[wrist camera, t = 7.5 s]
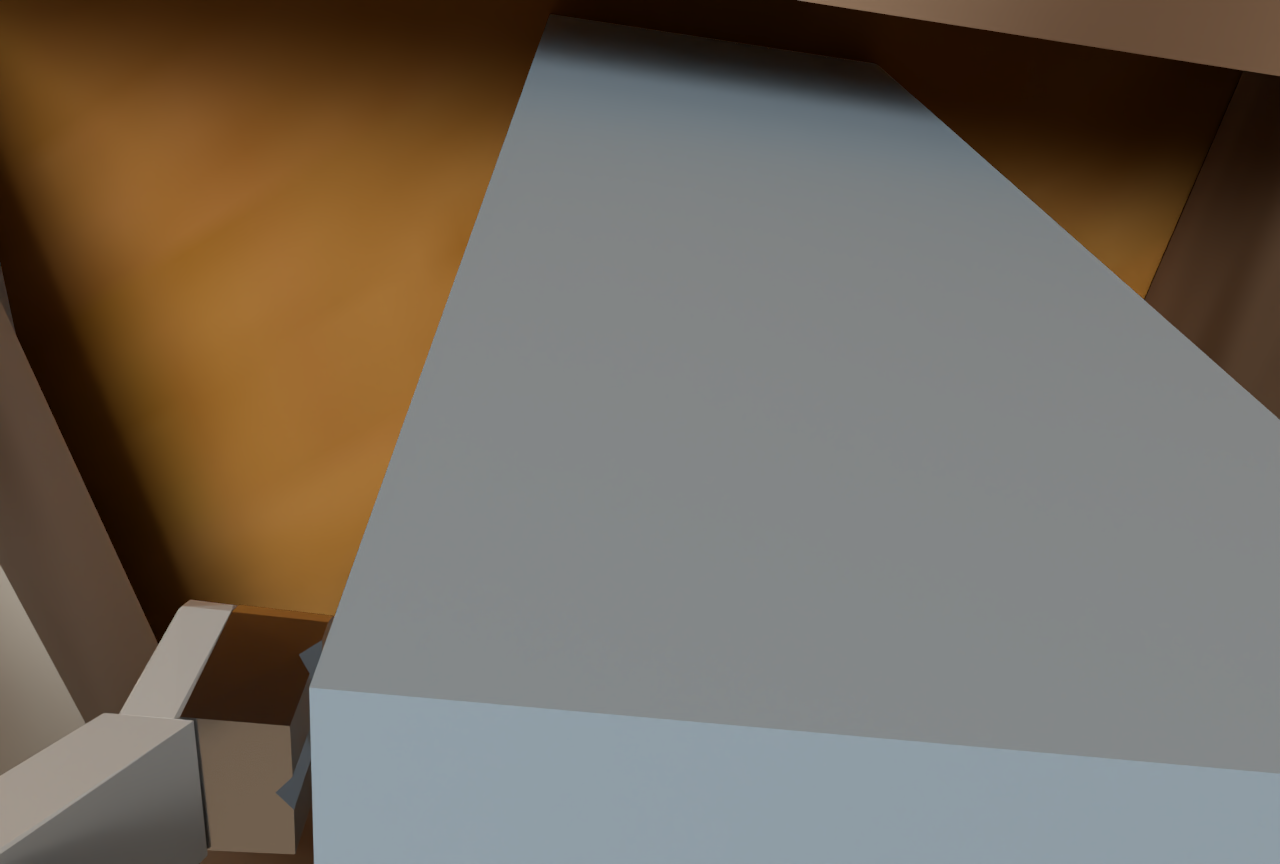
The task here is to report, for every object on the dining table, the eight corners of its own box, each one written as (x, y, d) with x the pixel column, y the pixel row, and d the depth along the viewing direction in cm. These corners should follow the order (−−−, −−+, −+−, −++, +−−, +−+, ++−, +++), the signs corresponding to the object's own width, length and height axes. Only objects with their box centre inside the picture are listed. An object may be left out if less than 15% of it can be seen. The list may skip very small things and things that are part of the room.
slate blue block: (482, 726, 18) (337, 1712, 9) (549, 13, 12) (308, 687, 3) (703, 745, 18) (795, 1711, 9) (875, 63, 12) (1722, 813, 3)
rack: (-276, 752, 18) (-560, 1045, 14) (-812, -443, 10) (-1973, -666, 5) (967, 851, 20) (1063, 1130, 16) (1403, -60, 12) (1859, 4, 7)
